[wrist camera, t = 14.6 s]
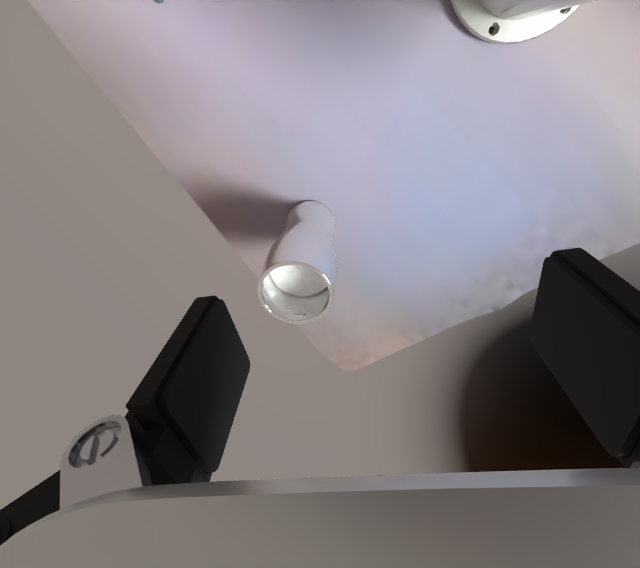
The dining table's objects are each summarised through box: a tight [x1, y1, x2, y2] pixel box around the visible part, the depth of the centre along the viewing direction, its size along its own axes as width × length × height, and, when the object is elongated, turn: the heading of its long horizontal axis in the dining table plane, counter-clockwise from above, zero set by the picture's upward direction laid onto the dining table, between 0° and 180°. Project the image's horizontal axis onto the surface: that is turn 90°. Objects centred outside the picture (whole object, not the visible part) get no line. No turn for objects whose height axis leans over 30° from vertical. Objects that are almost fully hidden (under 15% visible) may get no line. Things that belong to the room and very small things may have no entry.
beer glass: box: [257, 201, 337, 324], centre depth 34 cm, size 7×7×15 cm
